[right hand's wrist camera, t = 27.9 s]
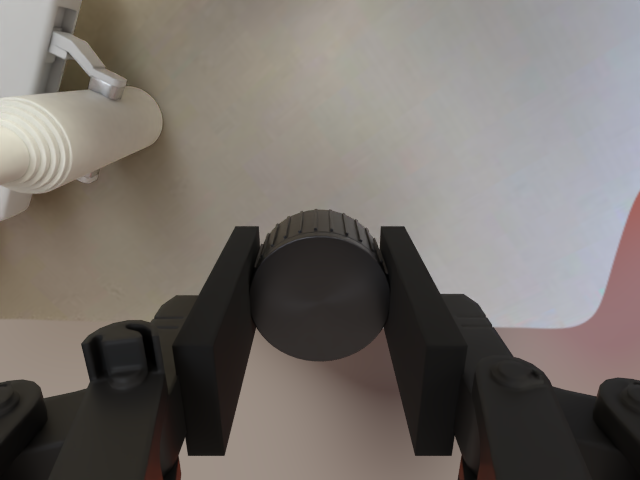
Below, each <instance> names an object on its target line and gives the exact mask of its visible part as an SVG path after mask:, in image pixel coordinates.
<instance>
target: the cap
mask: <svg viewBox="0 0 640 480" xmlns="http://www.w3.org/2000/svg"><path fill="white" fill-rule="evenodd" d="M253 269H254V273H253V277H252V280H251V283H250V287H249V298H250V312H251V316H252V319H253V322H254V324H255V326H256V327H257V329H258V331H259V332H260V333H261V335H262V336H263V337H264V338H265V339H266V340H267V341H268V342H269V343H270V344H271V345H272V346H274V347H275V348H277V349H278V350H280V351H281V352H283V353H285V354H287V355H290V356H293V357H295V358H299V359H303V360H308V361H332V360H337V359H341V358H344V357H347V356H350V355H352V354H354V353H356V352H358V351H360V350H361V349H363V348H365V347H366V346H367V345H368V344H370V343H371V342H372V341H373V340H374V339H375V338H376V337H377V335H378V334H379V333H380V331H381V330H382V328H383V327H384V325H385V323H386V321H387V318H388V316H389V307H390V292H391V290H390V285H389V281H388V278H387V276H389V274H388V271H387V268H386V265H385V262H384V259H383V256H382V253H381V250H379V248H378V245H377V242H376V239H375V238H374V239H373V237H372V236H371V235H370V233H369V231H368V229H367V228H364V227H363V226H362V225H361V224H360V223H358V220H356V219H355V220H354V219H352V218H351V217H349V216H346V215H345V214H344V213H343V214H342V213H338V212H334V211H332V210H317V209H315V210H311V211H305V212H303V211H301V212H300V213H298V214H295V215H293V216H291V217H290V216H288V217H287V219H285V220H284V221H282V222H281V223H280V224H276V227H275V228H274V229H273V230H272V231H271V233H270V234H269V233H268V234H267V236H266V239H265V242H264V244H261V246H260V249H259V252H258V255H257V258H256V261H255V264H254V267H253Z"/></svg>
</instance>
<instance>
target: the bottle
mask: <svg viewBox="0 0 640 480" xmlns="http://www.w3.org/2000/svg"><path fill="white" fill-rule="evenodd" d="M162 126H163V119H162V114H161V111H160V108H159V106H158V104H157V103H156V101H155V100H154V99H153V98H152V97H151V96H150V95H149V94H148V93H146V92H145V91H143V90H141V89H139V88H137V87H133V86H126V87H125V89H124V92H123V95H122V98H121V99H120V100H119V99H117V100H111V99H108V98H106V97H105V96H103V95H102V94H101V93H96V92H93V91H91V90H89V89H88V90H77V91H66V92H55V93H45V94H34V95H23V96H12V97H4V98H0V185H2V186H3V187H5V188H7V189H10V190H12V191H15V192H20V193H27V194H40V193H46V192H49V191H52V190H54V189H56V188H58V187H60V186H63V185H65V184H67V183H69V182H71V181H74V180H76V179H78V178H80V177H82V176H85V175H87V174H89V173H91V172H93V171H96V170H98V169H100V168H102V167H104V166H107V165H109V164H111V163H113V162H115V161H117V160H120V159H122V158H124V157H126V156H128V155H131V154H133V153H135V152H137V151H139V150H142V149H144V148H146V147H148V146H150V145H152V144H153V143H154V142H155V141H156V140H157V139H158V137H159V136H160V134H161V131H162Z"/></svg>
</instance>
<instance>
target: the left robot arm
mask: <svg viewBox="0 0 640 480" xmlns="http://www.w3.org/2000/svg"><path fill="white" fill-rule="evenodd" d="M81 3H82V0H0V98H4V97H12V96H23V95H34V94H45V93H55V92H59V88H60V85H61V81H62V77H63V73H64V69H65V65H66V61H67V60H76V61H77V63H78V64H79V65H80V66H81V67H82V68H83V70H84V71H85V72H86V73H87V74H88V75H89V77H91V78H90V82H89V86H88V89H89V90H91V91H93V92H96V93H101V94H102V95H103V96H105V97H106V98H108V99H111V100H117V99H119V100H120V99H121V98H122V95H123V92H124V89H125V87H126V83H127V79H125V78H124V77H122V76H120V75H118V74H116V73H114V72H112V71H109V70H107V69H105V65H104V64H103V63H102V61H101V60H100V59H99V57H98V56H97V55H96V53H95V52H94V51H93V49H92V48H91V47H90V45H89V44H88V43H87V42H86V41H84V40H82V39H80V38H78V37H76V36H74V35H73V34H74V30H75V26H76V22H77V19H78V15H79V11H80V7H81ZM99 170H100V169H98V170H96V171H93V172H91V173H89V174H87V175H85V176H82V177H80V178H78V179H76V180H78V181H80V182H83V183H91V182H93V181H95V180H97V176H98V173H99ZM31 197H32V194H27V193H20V192H15V191H12V190H10V189H7V188H5V187H3V186H2V185H0V221H3V220H6V219H9V218H11V217H14V216H16V215H18V214H20V213H21V212H23V211H25V210H26V209H27V208H28V207H29V205H30V201H31Z"/></svg>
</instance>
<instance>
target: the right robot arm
mask: <svg viewBox="0 0 640 480" xmlns="http://www.w3.org/2000/svg"><path fill="white" fill-rule="evenodd" d="M259 249H260V240H259V226H236V227H235V228H234V230H233V232H232V234H231V236H230V238H229V240H228V242H227V243H226V245H225V247H224V249H223V251H222V253H221V255H220V256H219V258H218V260H217V262H216V264H215V266H214V268H213V270H212V271H211V273H210V275H209V277H208V279H207V281H206V283H205V285H204V286H203V288H202V290H201V292H200V294H199V295H176V296H175V297H173V298H172V299H170V300H169V301H168V302H166V303H165V304H163V305H162V306H161V308H160V309H159V311H158V312H157V314H156V315H155V317H154V319H153V320H152V321H151V323H150V322H146V321H142V320H127V321H122V322H117V323H113V324H110V325H108V326H105V327H102V328H100V329H98V330H96V331H95V332H93V333H92V334H90V335H89V336H88V337H87V338H86V339H85V340H84V341H83V342H82V344H81V345H82V349H83V353H84V358H85V362H86V366H87V370H88V374H89V379H90V383H89V386H88V388H87V389H83V390H80V391H76V392H72V393H67V394H62V395H58V396H53V397H48V398H43V395H42V392H41V388H40V387H39V386H38V385H37V384H36V383H35V382H33V381H27V380H13V381H6V382H2V383H0V480H181V470H180V463H179V456H178V455H179V452H180V450H181V447H182V444H183V441H184V439H185V438H186V445H187V451H188V456H224V455H225V452H226V447H227V443H228V439H229V435H230V431H231V427H232V423H233V419H234V415H235V411H236V407H237V403H238V399H239V395H240V391H241V387H242V382H243V378H244V374H245V370H246V366H247V362H248V358H249V354H250V350H251V346H252V342H253V338H254V334H255V330H256V326H255V324H254V322H253V319H252V316H251V312H250V298H249V287H250V283H251V280H252V277H253V273H254V269H253V267H254V264H255V261H256V258H257V255H258V252H259ZM380 250H381V253H382V256H383V259H384V262H385V265H386V268H387V271H388V274H389V276H387V278H388V281H389V285H390V290H391V292H390V307H389V316H388V318H387V321H386V323H385V325H384V331H385V335H386V339H387V343H388V347H389V351H390V355H391V359H392V363H393V367H394V371H395V375H396V380H397V383H398V388H399V392H400V396H401V400H402V404H403V408H404V412H405V416H406V420H407V424H408V428H409V432H410V436H411V440H412V445H413V448H414V453H415V456H451V455H452V449H453V442H454V436H455V437H456V440H457V443H458V445H459V448H460V451H461V454H462V456H461V463H460V469H459V475H458V480H640V381H639V380H634V379H627V378H613V379H608V380H605V381H604V382H603V383H602V384H601V385H600V387H599V390H598V394H597V397H596V396H591V395H586V394H582V393H577V392H572V391H568V390H563V389H560V388H556V387H553V386H552V385H551V382H550V380H549V379H548V378H547V376H546V375H545V374H544V372H543V371H541V370H540V369H539V368H537V367H536V366H534V365H533V364H531V363H529V362H527V361H524V360H522V359H520V358H516V357H513V355H512V354H511V352H510V351H509V349H508V348H507V346H506V345H505V343H504V342H503V340H502V339H501V338H500V336H499V335H498V333H497V332H496V330H495V329H494V327H492V324H491V323H490V321H489V320H488V318H486V315H485V314H484V312H483V311H482V309H481V308H480V306H479V305H478V304H477V303H476V302H474V301H473V300H471V299H470V298H469V297H467V296H466V295H464V294H440V293H439V291H438V289H437V287H436V285H435V283H434V281H433V280H432V278H431V276H430V274H429V272H428V270H427V268H426V266H425V265H424V263H423V261H422V259H421V257H420V255H419V253H418V251H417V250H416V248H415V246H414V244H413V242H412V240H411V238H410V236H409V235H408V233H407V231H406V229H405V227H404V226H381V235H380Z"/></svg>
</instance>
